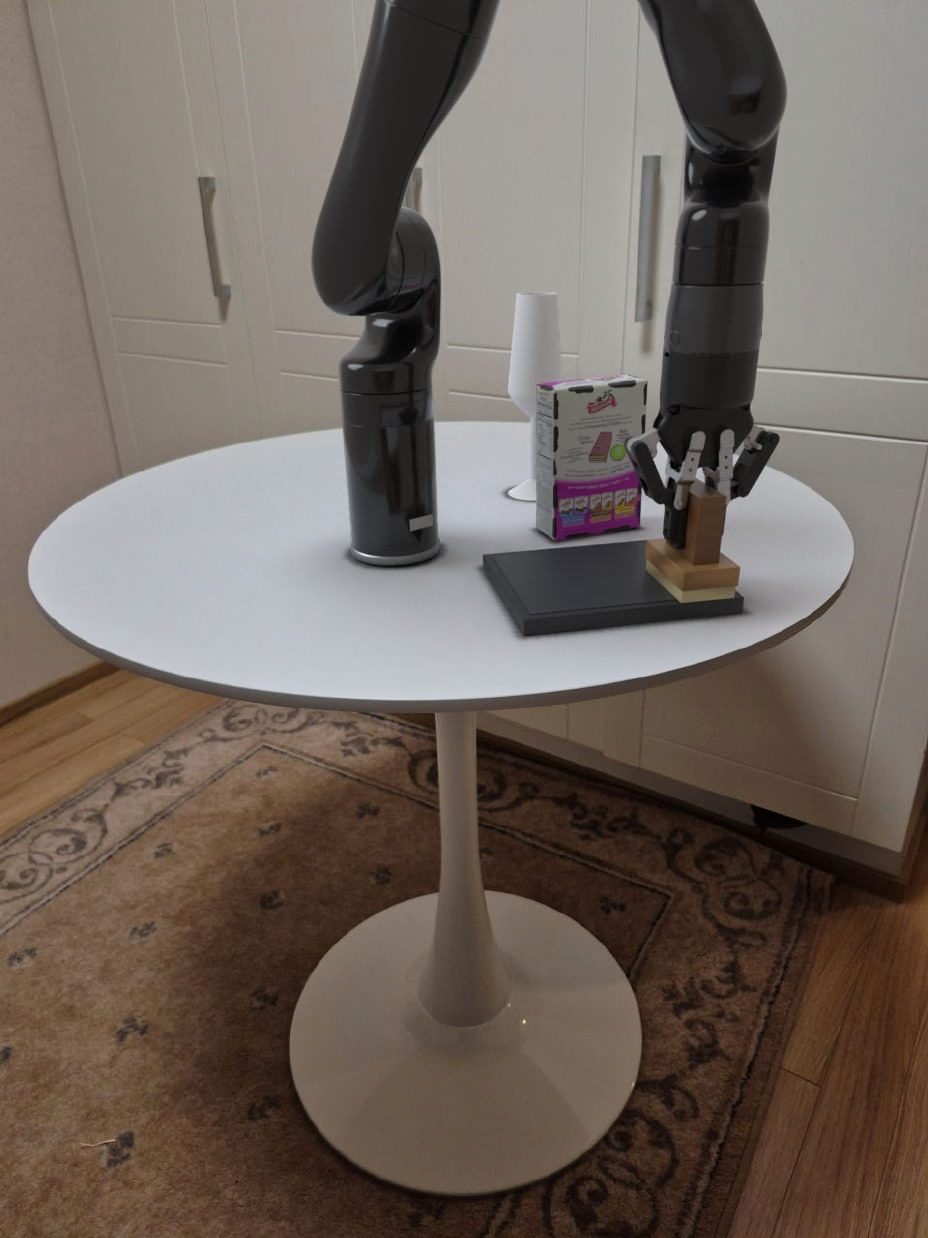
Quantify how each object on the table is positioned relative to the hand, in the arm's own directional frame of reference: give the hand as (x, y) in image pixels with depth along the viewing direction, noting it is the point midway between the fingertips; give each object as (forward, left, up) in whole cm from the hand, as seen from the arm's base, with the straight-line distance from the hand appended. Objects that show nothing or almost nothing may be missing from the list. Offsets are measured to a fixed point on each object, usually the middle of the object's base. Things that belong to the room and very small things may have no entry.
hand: (691, 544), depth 76 cm
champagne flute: (-36, -5, -6) cm, 37 cm away
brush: (0, 0, -4) cm, 4 cm away
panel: (-4, -7, -5) cm, 9 cm away
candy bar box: (-21, -3, -6) cm, 22 cm away
